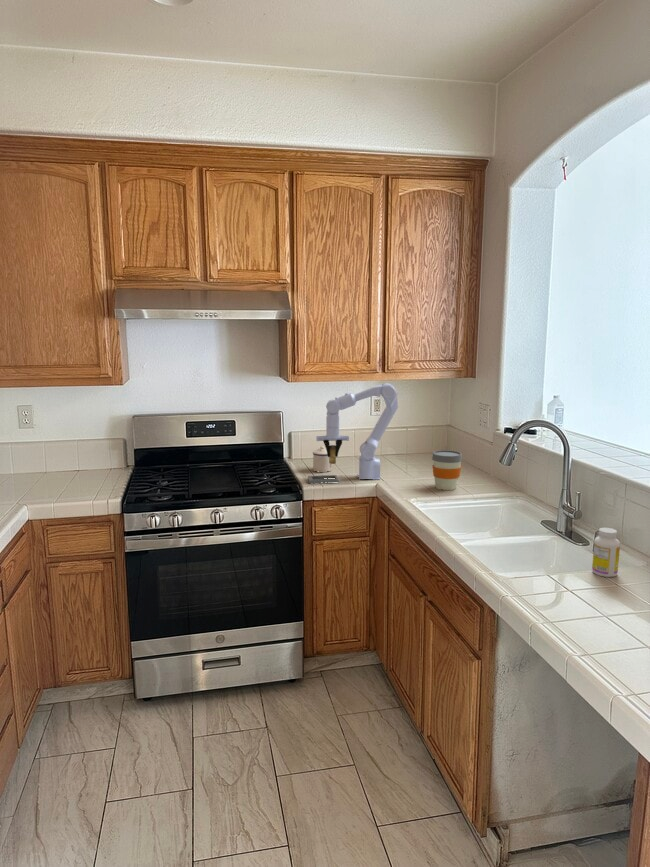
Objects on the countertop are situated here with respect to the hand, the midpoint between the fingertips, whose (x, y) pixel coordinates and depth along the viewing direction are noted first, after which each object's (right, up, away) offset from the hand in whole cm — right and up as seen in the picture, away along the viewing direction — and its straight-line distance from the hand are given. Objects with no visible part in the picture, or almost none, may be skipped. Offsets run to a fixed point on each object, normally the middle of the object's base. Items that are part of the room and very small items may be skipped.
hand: (332, 456), depth 276 cm
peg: (0, -3, +1) cm, 3 cm away
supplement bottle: (+76, -30, -102) cm, 131 cm away
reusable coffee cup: (+49, -13, -13) cm, 52 cm away
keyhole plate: (-4, -11, -4) cm, 12 cm away
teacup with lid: (-5, -7, +17) cm, 19 cm away
